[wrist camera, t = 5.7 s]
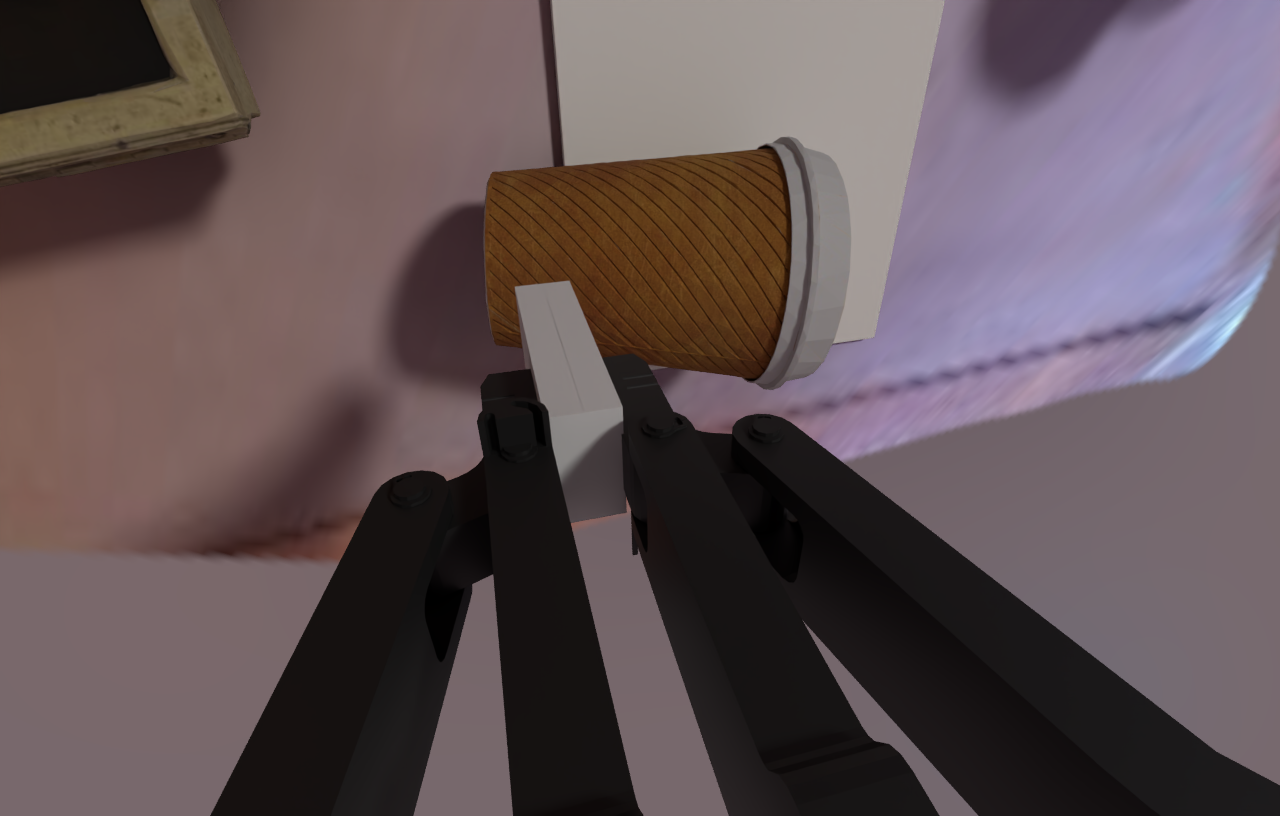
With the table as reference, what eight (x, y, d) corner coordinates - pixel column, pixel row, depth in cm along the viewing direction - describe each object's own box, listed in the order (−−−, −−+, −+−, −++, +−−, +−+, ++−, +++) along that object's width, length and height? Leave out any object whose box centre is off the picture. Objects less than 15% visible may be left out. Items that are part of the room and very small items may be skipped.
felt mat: (580, 375, 31) (581, 380, 31) (548, -13, 22) (550, -13, 22) (869, 333, 34) (874, 337, 34) (941, -21, 26) (949, -21, 25)
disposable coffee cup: (473, 379, 19) (859, 382, 20) (475, 64, 19) (856, 86, 20) (507, 393, 28) (767, 394, 30) (508, 183, 29) (766, 193, 30)
